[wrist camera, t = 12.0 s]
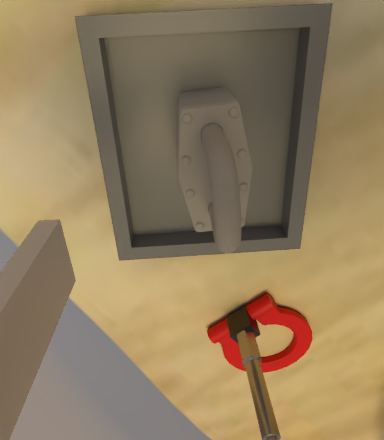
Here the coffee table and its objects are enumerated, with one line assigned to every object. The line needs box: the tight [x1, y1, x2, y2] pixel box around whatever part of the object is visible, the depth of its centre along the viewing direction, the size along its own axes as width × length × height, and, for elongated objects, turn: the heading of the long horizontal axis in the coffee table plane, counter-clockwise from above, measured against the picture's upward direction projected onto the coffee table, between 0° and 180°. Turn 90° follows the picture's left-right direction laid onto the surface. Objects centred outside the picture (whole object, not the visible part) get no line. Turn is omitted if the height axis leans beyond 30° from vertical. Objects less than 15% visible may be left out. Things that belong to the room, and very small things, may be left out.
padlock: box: [177, 87, 252, 253], centre depth 18 cm, size 7×4×10 cm, turn 6°
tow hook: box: [207, 293, 312, 440], centre depth 28 cm, size 8×13×9 cm
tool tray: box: [75, 4, 332, 260], centre depth 22 cm, size 13×15×2 cm
